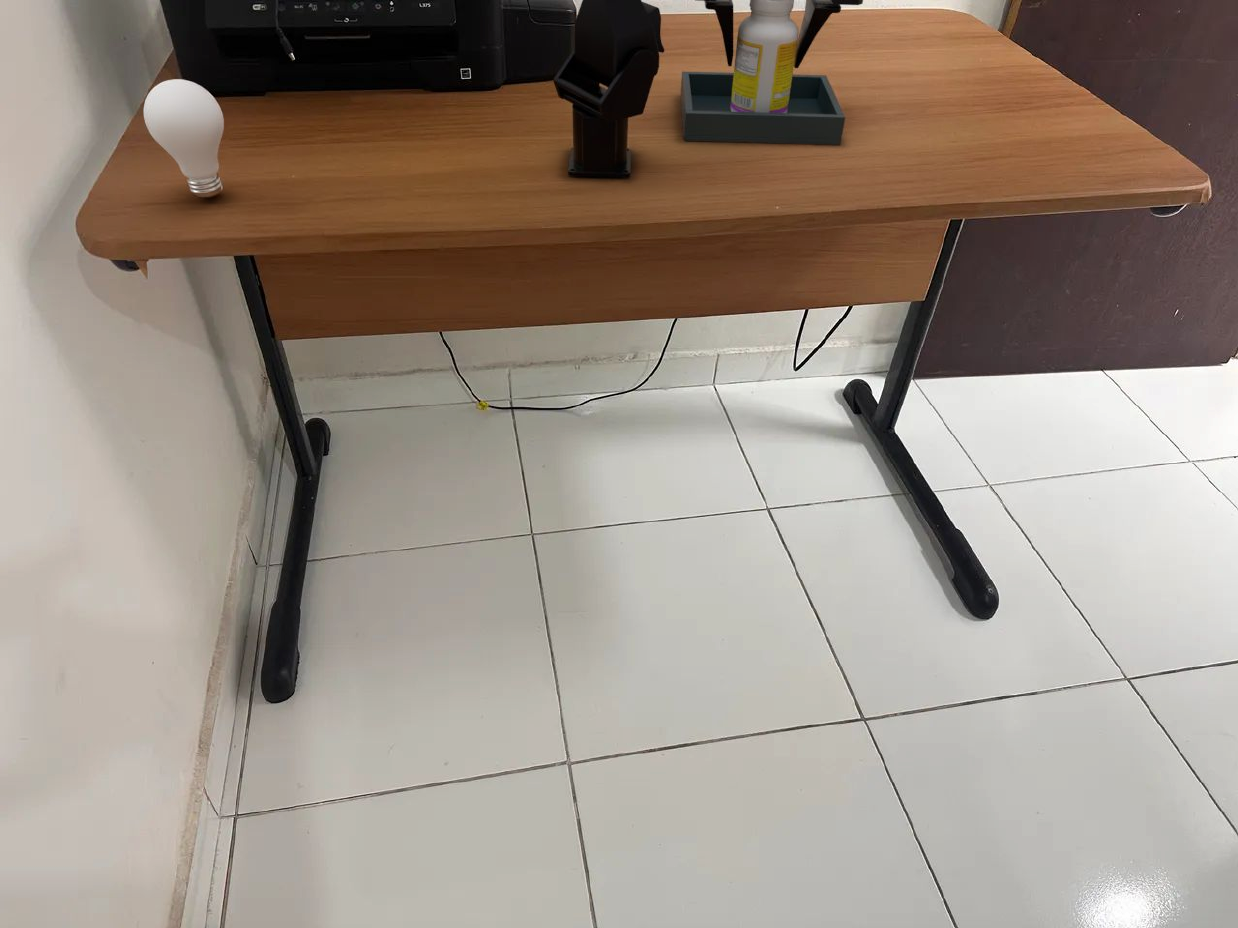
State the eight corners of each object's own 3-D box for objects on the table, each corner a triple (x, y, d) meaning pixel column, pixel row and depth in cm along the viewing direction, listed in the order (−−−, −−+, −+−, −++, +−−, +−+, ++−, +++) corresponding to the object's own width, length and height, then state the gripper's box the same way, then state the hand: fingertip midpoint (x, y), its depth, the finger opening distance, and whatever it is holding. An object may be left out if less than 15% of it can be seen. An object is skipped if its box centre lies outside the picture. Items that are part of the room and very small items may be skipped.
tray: (840, 145, 97) (845, 117, 95) (684, 141, 97) (685, 113, 95) (821, 101, 107) (826, 75, 105) (680, 97, 108) (681, 71, 105)
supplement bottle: (785, 106, 104) (802, -12, 95) (787, 128, 99) (806, 5, 91) (729, 103, 105) (742, -15, 96) (728, 124, 100) (742, 2, 91)
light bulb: (253, 183, 87) (221, 69, 80) (233, 213, 83) (198, 94, 75) (186, 182, 87) (148, 68, 80) (162, 212, 82) (120, 94, 75)
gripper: (860, -107, 94) (833, 46, 104) (688, -112, 94) (678, 42, 104) (881, -86, 86) (849, 78, 96) (692, -92, 86) (681, 73, 96)
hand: (762, 66), depth 98 cm, fingers open, 7 cm apart
